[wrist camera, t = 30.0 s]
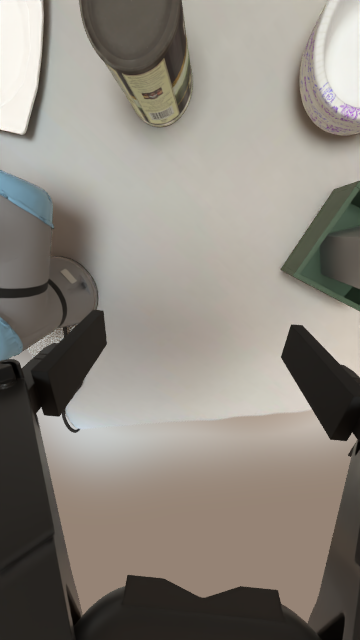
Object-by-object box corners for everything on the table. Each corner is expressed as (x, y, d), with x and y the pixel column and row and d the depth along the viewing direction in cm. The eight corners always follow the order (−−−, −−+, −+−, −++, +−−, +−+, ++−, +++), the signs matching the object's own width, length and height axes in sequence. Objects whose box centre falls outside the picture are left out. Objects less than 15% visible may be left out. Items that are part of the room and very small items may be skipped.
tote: (341, 301, 43) (364, 313, 36) (280, 269, 42) (292, 276, 36) (404, 227, 37) (443, 226, 31) (334, 189, 36) (359, 180, 30)
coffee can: (166, 19, 32) (134, -129, 19) (205, 92, 34) (202, 7, 21) (114, 80, 35) (57, -10, 22) (154, 143, 37) (123, 96, 24)
